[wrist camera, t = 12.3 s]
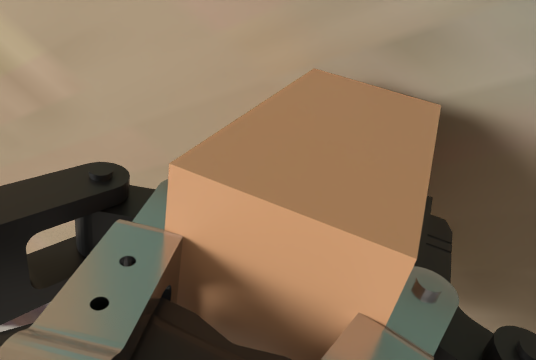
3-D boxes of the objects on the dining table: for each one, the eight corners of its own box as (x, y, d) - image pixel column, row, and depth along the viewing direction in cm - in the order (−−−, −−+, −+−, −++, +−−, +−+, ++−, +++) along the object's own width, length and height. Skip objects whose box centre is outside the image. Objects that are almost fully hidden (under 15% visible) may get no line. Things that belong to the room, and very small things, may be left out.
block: (441, 105, 12) (416, 259, 6) (378, 259, 15) (315, 476, 9) (313, 68, 13) (169, 163, 7) (278, 219, 16) (153, 387, 10)
